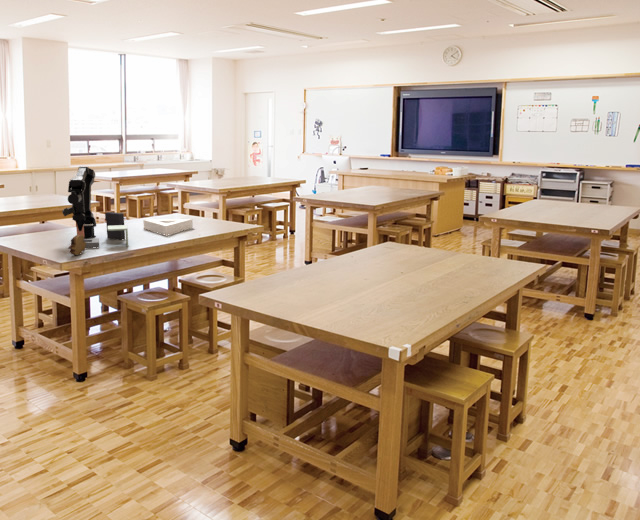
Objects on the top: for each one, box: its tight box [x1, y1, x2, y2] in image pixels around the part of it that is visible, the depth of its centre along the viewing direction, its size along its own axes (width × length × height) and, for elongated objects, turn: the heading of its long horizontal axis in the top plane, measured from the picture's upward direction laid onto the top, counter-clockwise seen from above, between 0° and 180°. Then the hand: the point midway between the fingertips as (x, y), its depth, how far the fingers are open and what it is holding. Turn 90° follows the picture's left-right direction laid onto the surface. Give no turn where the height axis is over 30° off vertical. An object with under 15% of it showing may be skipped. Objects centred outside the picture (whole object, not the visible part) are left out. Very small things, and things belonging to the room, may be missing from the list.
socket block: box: [83, 238, 100, 249], centre depth 336 cm, size 12×12×3 cm
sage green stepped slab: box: [108, 224, 129, 247], centre depth 340 cm, size 12×10×10 cm
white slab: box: [143, 218, 194, 236], centre depth 389 cm, size 30×26×6 cm
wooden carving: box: [68, 234, 86, 256], centre depth 315 cm, size 16×5×10 cm, turn 3°
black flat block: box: [104, 211, 126, 241], centre depth 357 cm, size 11×4×15 cm, turn 62°
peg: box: [75, 221, 84, 236], centre depth 345 cm, size 4×4×10 cm
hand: (80, 230), depth 345 cm, fingers closed on peg, 4 cm apart
